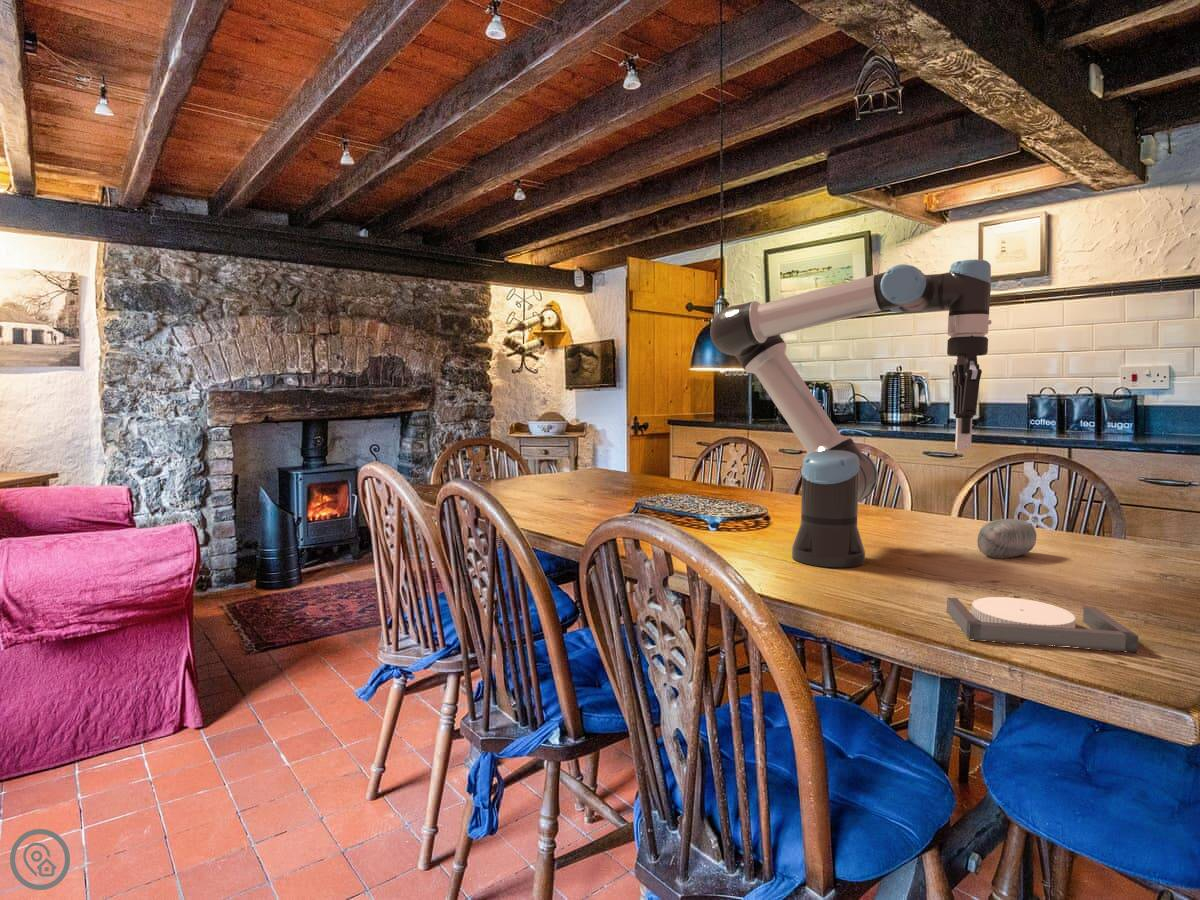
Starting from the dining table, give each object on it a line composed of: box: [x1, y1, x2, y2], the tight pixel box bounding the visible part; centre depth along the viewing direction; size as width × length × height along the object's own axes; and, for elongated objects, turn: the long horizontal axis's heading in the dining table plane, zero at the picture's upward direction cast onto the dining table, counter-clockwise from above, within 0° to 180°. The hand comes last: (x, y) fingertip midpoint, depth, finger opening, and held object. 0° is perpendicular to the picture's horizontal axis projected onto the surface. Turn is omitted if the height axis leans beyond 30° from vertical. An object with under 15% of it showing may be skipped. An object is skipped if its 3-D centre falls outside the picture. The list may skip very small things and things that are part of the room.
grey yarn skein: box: [976, 518, 1037, 559], centre depth 155 cm, size 14×10×10 cm
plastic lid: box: [971, 596, 1077, 628], centre depth 110 cm, size 14×14×2 cm
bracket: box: [946, 597, 1139, 653], centre depth 106 cm, size 22×14×2 cm, turn 76°
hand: (962, 448), depth 147 cm, fingers closed
